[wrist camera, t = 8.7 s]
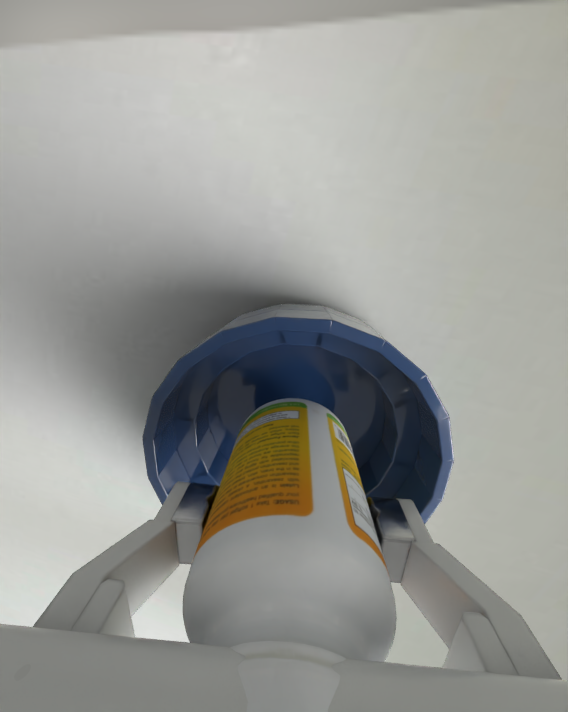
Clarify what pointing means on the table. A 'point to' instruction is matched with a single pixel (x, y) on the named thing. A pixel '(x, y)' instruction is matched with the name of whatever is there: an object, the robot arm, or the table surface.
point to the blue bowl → (304, 381)
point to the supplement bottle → (291, 561)
